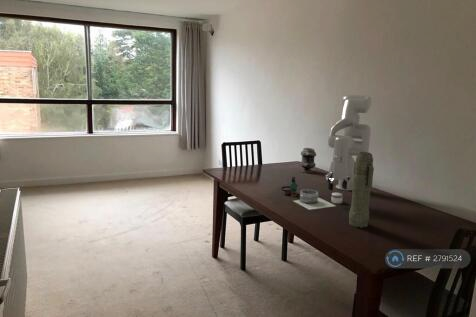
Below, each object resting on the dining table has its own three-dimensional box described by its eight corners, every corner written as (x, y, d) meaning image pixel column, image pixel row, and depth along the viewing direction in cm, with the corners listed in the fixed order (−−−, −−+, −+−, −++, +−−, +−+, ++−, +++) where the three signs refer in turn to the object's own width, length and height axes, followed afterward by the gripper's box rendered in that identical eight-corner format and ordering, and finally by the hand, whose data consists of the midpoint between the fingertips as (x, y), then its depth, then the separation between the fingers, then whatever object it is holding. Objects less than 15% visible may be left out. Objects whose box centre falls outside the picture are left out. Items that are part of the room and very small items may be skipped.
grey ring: (310, 197, 210) (311, 188, 209) (321, 203, 201) (321, 193, 200) (296, 199, 206) (296, 190, 205) (306, 205, 197) (306, 195, 196)
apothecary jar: (316, 173, 272) (318, 150, 268) (300, 173, 272) (302, 149, 268) (313, 169, 284) (314, 147, 280) (298, 169, 284) (299, 147, 280)
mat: (318, 198, 211) (318, 197, 211) (336, 206, 197) (336, 205, 197) (292, 201, 204) (292, 200, 204) (308, 210, 189) (309, 209, 189)
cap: (337, 200, 208) (338, 192, 207) (344, 203, 202) (345, 195, 201) (328, 201, 205) (329, 193, 204) (335, 204, 200) (336, 196, 199)
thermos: (360, 230, 164) (367, 155, 157) (342, 221, 175) (348, 151, 168) (374, 227, 168) (382, 154, 161) (356, 219, 179) (362, 150, 172)
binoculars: (281, 176, 220) (297, 176, 218) (282, 193, 222) (298, 193, 220) (280, 180, 211) (297, 179, 209) (281, 197, 213) (297, 197, 211)
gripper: (347, 157, 206) (345, 186, 209) (323, 158, 199) (320, 188, 202) (356, 160, 199) (354, 189, 202) (331, 161, 192) (329, 192, 195)
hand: (337, 189), depth 202 cm, fingers open, 9 cm apart
